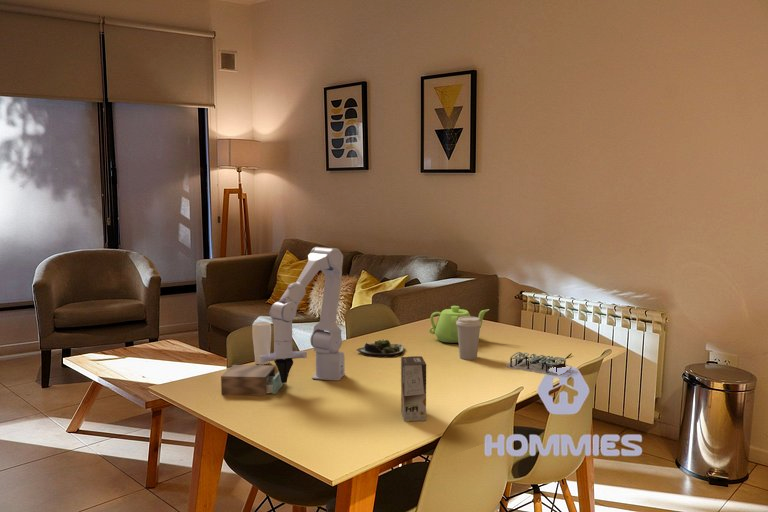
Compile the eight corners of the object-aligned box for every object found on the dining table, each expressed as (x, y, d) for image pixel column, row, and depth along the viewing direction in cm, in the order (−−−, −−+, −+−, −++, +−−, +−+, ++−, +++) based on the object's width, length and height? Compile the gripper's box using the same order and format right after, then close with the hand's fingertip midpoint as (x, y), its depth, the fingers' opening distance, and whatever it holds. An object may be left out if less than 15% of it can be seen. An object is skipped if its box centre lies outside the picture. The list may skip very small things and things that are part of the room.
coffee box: (426, 421, 182) (427, 364, 180) (403, 421, 181) (403, 365, 179) (422, 409, 191) (422, 355, 189) (400, 410, 190) (400, 356, 188)
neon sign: (586, 347, 247) (560, 365, 223) (585, 358, 248) (560, 378, 223) (532, 340, 259) (502, 356, 234) (532, 351, 259) (502, 368, 235)
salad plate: (364, 344, 270) (364, 333, 269) (407, 346, 266) (407, 335, 266) (353, 356, 251) (353, 344, 250) (400, 358, 248) (400, 346, 247)
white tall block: (267, 366, 236) (266, 325, 234) (250, 365, 237) (249, 324, 235) (274, 361, 242) (273, 321, 241) (257, 360, 244) (256, 321, 242)
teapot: (424, 338, 278) (424, 305, 276) (459, 332, 289) (460, 300, 288) (453, 347, 263) (453, 312, 261) (489, 341, 274) (490, 307, 272)
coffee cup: (452, 359, 245) (452, 320, 243) (459, 353, 254) (459, 315, 252) (477, 362, 241) (478, 322, 240) (483, 355, 250) (484, 317, 249)
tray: (284, 382, 216) (284, 367, 216) (275, 394, 204) (275, 379, 203) (243, 381, 217) (243, 366, 217) (232, 393, 205) (231, 378, 204)
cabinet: (275, 382, 217) (275, 365, 216) (265, 395, 204) (265, 377, 203) (233, 381, 218) (233, 364, 217) (221, 394, 205) (221, 376, 204)
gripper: (302, 335, 213) (302, 376, 214) (257, 339, 207) (258, 381, 209) (308, 340, 206) (308, 382, 207) (262, 344, 201) (263, 387, 202)
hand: (283, 382), depth 208 cm, fingers closed
